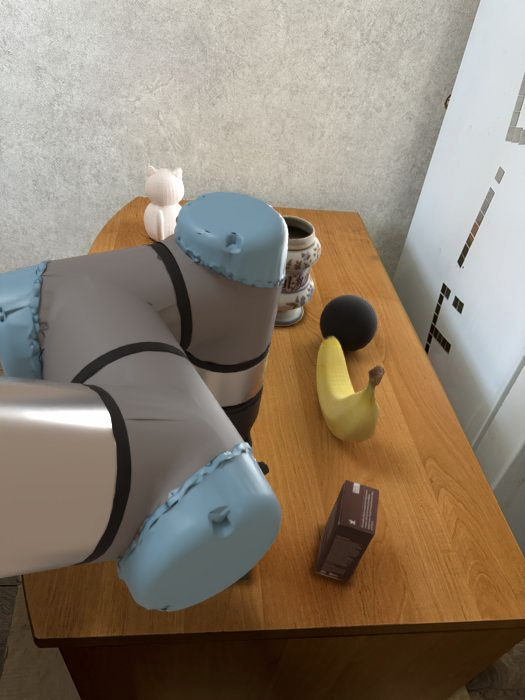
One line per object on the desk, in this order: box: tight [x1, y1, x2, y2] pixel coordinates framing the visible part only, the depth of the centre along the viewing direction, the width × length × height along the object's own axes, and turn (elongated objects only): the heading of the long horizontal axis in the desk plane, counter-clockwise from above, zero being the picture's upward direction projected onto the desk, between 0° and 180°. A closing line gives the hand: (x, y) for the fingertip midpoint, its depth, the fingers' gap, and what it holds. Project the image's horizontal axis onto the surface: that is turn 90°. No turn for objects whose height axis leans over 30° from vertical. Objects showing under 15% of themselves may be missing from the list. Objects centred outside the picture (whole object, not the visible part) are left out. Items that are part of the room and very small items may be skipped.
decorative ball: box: [319, 294, 379, 353], centre depth 93 cm, size 10×10×10 cm
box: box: [315, 479, 380, 583], centre depth 62 cm, size 6×4×12 cm
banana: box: [315, 336, 386, 443], centre depth 77 cm, size 23×6×20 cm, turn 4°
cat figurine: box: [143, 164, 185, 242], centre depth 111 cm, size 9×12×15 cm
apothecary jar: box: [274, 215, 322, 327], centre depth 95 cm, size 12×12×18 cm
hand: (205, 521), depth 60 cm, fingers closed
